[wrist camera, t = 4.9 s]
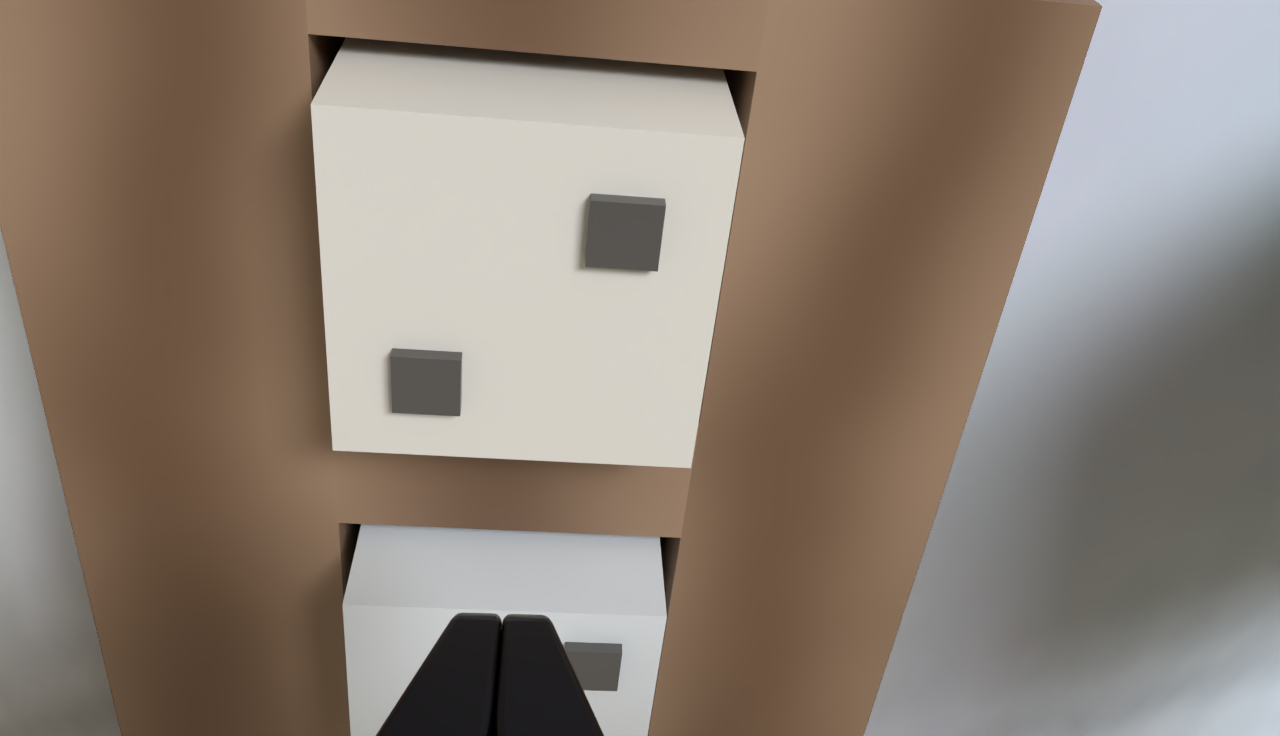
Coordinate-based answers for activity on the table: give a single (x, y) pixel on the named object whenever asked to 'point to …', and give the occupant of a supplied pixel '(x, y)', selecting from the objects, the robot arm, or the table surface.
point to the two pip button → (520, 250)
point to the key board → (507, 488)
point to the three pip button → (505, 610)
